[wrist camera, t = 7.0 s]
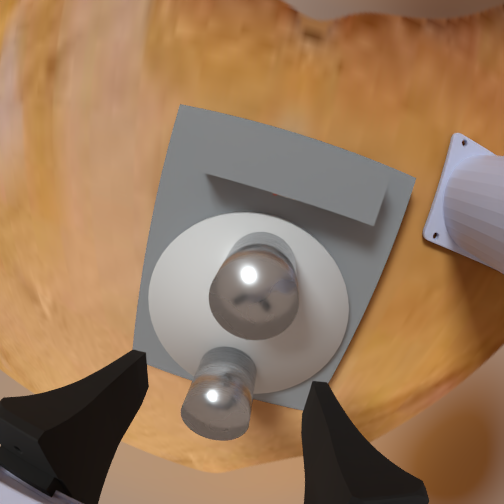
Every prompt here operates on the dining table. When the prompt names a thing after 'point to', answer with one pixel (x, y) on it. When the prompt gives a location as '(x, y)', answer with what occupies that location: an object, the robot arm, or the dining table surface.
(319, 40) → the dining table surface
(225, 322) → the cylinder
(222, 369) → the cylinder
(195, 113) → the scale
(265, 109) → the dining table surface
